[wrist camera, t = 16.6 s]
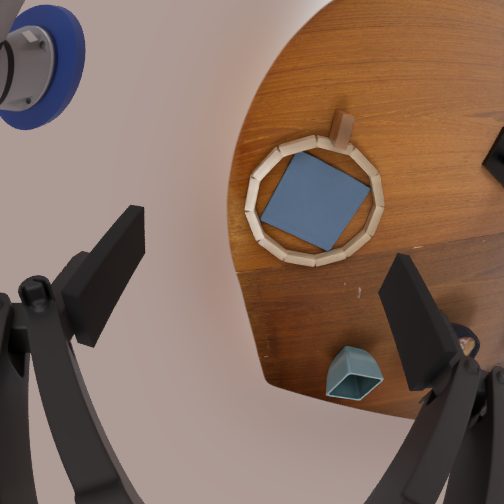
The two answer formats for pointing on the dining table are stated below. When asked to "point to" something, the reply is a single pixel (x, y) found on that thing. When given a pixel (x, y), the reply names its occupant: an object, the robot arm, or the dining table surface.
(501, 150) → the post on square base
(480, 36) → the dining table surface
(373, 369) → the flower pot
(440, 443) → the robot arm
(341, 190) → the mat
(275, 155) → the segmented ring with tab
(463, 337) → the bowl
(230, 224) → the dining table surface
